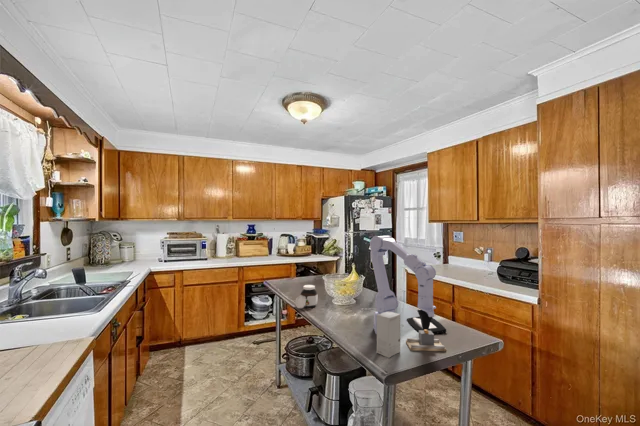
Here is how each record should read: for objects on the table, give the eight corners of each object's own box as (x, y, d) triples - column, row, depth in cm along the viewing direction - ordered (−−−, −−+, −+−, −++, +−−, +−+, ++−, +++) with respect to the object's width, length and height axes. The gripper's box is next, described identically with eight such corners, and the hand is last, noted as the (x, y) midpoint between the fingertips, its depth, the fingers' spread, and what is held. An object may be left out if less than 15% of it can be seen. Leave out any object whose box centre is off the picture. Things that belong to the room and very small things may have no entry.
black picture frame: (404, 316, 150) (430, 313, 151) (404, 321, 150) (430, 318, 151) (418, 331, 131) (449, 327, 131) (419, 337, 131) (449, 334, 131)
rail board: (410, 350, 115) (410, 345, 115) (405, 342, 122) (405, 338, 122) (446, 351, 114) (446, 346, 114) (439, 343, 122) (439, 339, 122)
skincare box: (388, 358, 108) (389, 318, 108) (375, 353, 112) (375, 314, 113) (401, 351, 114) (401, 313, 114) (388, 346, 118) (388, 309, 118)
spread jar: (318, 304, 174) (318, 285, 174) (314, 310, 163) (314, 289, 163) (299, 303, 177) (299, 284, 177) (293, 308, 166) (293, 288, 166)
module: (421, 346, 116) (421, 332, 116) (418, 342, 120) (418, 328, 120) (434, 347, 116) (434, 332, 116) (430, 342, 120) (430, 328, 120)
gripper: (442, 300, 111) (442, 336, 111) (429, 291, 126) (429, 322, 125) (423, 300, 111) (423, 335, 111) (413, 290, 126) (413, 322, 126)
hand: (425, 328), depth 118 cm, fingers closed
